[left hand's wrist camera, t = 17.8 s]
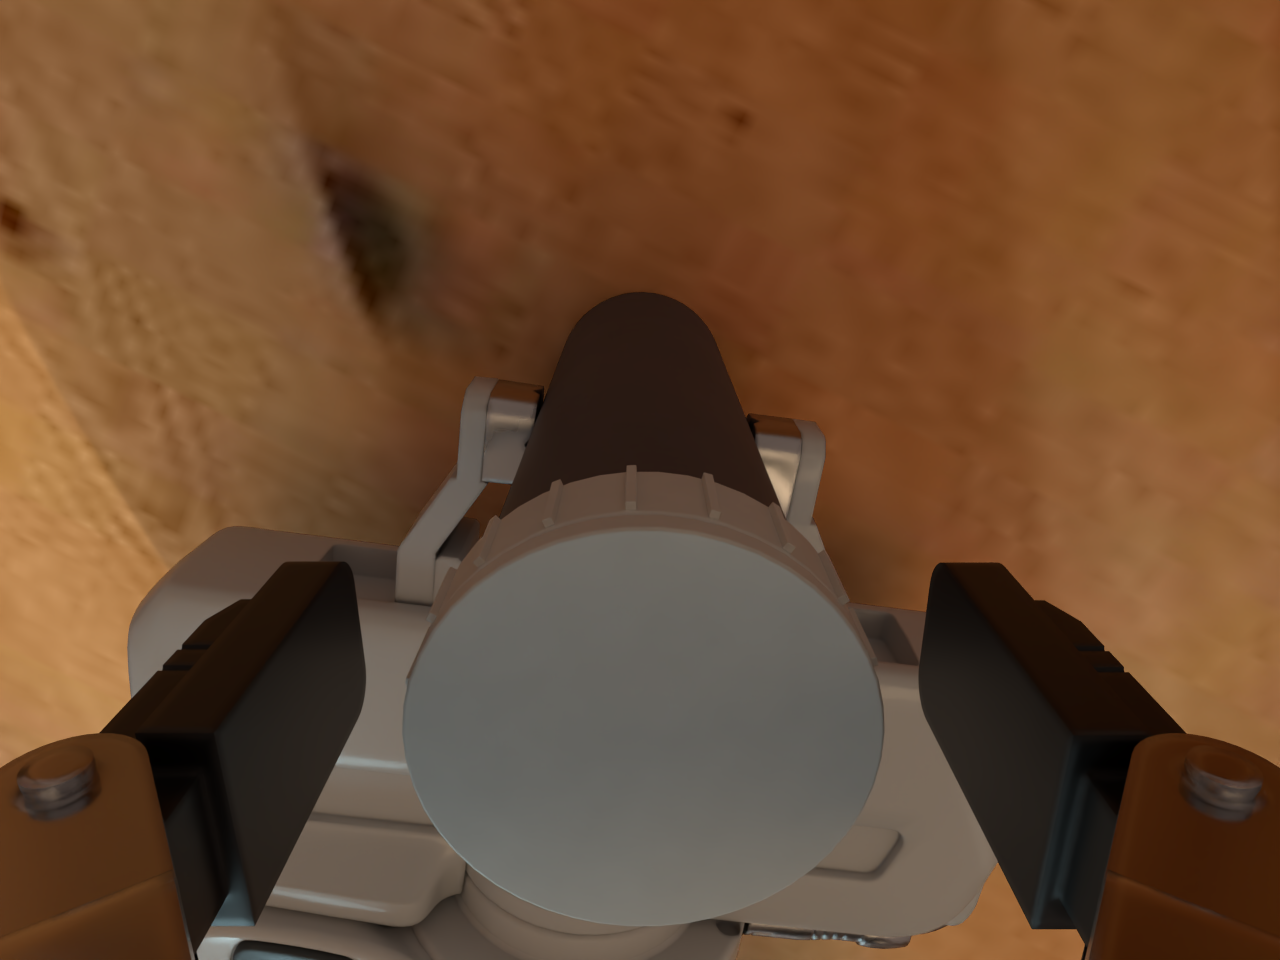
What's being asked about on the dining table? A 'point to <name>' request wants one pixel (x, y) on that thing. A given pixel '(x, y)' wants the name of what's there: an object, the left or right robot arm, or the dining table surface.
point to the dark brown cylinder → (640, 405)
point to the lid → (643, 702)
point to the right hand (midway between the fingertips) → (645, 404)
